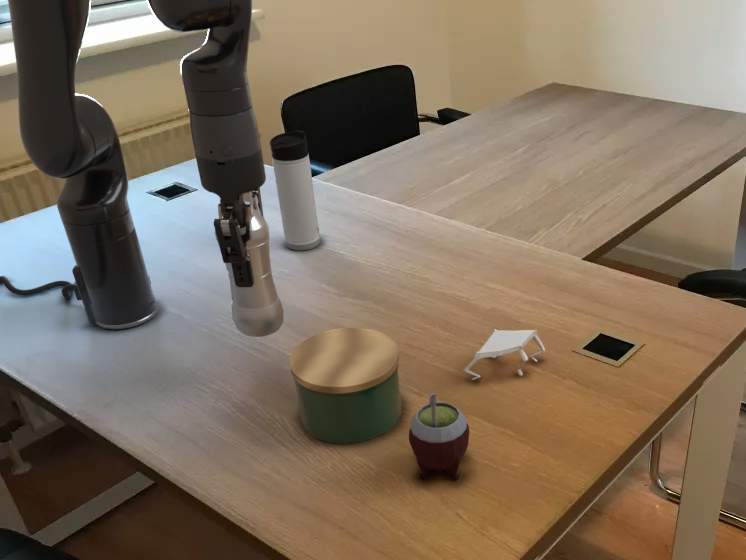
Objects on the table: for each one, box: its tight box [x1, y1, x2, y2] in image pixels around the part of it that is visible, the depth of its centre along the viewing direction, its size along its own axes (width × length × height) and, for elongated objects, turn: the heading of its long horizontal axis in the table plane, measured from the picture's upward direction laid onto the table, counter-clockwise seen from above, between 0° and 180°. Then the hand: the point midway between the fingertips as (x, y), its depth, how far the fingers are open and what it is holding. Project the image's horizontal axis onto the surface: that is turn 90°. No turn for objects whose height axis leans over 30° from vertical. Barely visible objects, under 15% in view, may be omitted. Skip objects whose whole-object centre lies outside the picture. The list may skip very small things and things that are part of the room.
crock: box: [288, 327, 402, 445], centre depth 104 cm, size 14×14×9 cm
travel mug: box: [269, 129, 321, 251], centre depth 143 cm, size 6×7×20 cm
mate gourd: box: [408, 393, 470, 482], centre depth 93 cm, size 8×8×15 cm
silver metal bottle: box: [214, 192, 284, 338], centre depth 103 cm, size 6×7×20 cm
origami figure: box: [462, 328, 546, 381], centre depth 113 cm, size 12×8×5 cm
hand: (250, 273), depth 104 cm, fingers closed on silver metal bottle, 6 cm apart
